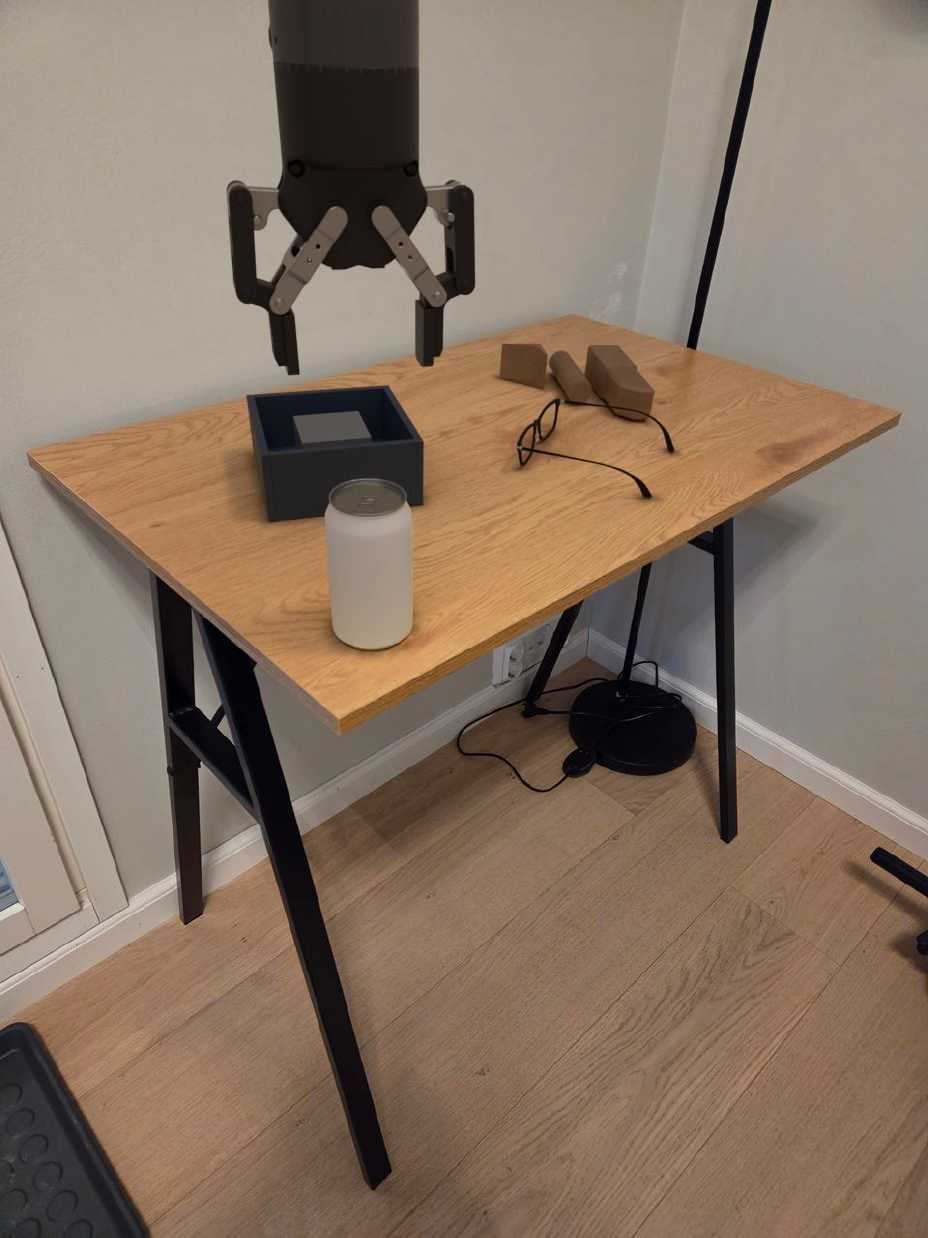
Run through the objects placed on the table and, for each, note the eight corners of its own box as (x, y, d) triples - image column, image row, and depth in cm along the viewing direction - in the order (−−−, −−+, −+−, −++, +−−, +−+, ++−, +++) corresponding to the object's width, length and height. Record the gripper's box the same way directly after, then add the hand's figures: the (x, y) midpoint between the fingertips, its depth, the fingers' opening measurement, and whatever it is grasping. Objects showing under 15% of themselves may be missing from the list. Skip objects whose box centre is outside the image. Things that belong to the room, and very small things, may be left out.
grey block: (305, 488, 81) (301, 442, 78) (296, 459, 86) (292, 415, 83) (373, 481, 83) (371, 436, 80) (360, 453, 88) (358, 410, 85)
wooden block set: (618, 335, 112) (659, 380, 98) (612, 374, 115) (651, 423, 101) (501, 334, 110) (525, 380, 95) (498, 374, 113) (521, 424, 99)
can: (418, 608, 66) (418, 479, 59) (406, 656, 61) (405, 521, 54) (342, 601, 67) (334, 472, 60) (324, 648, 62) (312, 513, 54)
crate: (268, 522, 77) (260, 455, 73) (253, 454, 89) (246, 394, 85) (423, 504, 81) (423, 441, 77) (389, 442, 93) (388, 384, 89)
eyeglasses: (552, 422, 100) (555, 392, 97) (677, 447, 95) (684, 415, 93) (507, 475, 87) (510, 441, 85) (648, 506, 83) (655, 471, 80)
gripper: (206, 53, 36) (251, 397, 46) (500, 63, 40) (484, 380, 49) (200, 48, 42) (241, 355, 51) (457, 57, 45) (450, 342, 55)
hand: (360, 367), depth 50 cm, fingers open, 8 cm apart
